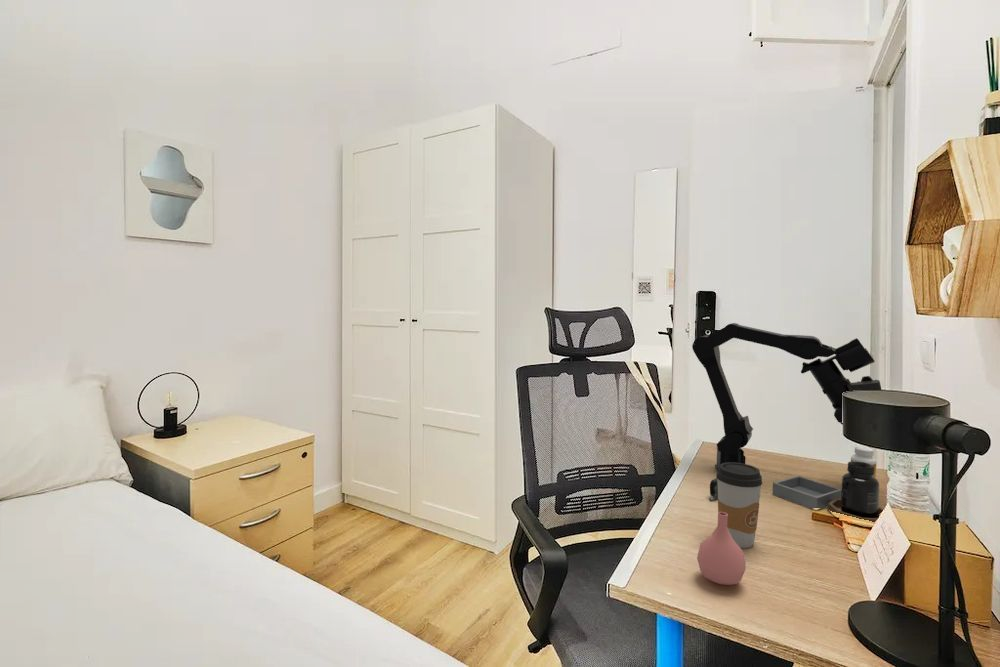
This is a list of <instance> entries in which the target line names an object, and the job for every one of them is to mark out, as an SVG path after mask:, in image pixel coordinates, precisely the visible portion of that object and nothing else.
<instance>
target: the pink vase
mask: <svg viewBox="0 0 1000 667" xmlns="http://www.w3.org/2000/svg"><path fill="white" fill-rule="evenodd" d="M727 519H728V514H727V513H725V512H718V511H717V525H716V527H715V529H714V530H713V531H712V534H711V535H709V536H708V537H707V538H706V539H704V540H703V541H701V542H700V544H699V548H698V551H697V557H696V560H697V563H698V567H699V570H700V572H701V574H702V576H703V577H705V578H706V579H707V580H709V581H712V582H714V583H715V584H718V585H722V586H723V585H724V586H725V585H736V584H739V583H740V582H741V581H742V579H743V576H744V574H745V572H746V570H747V569H746V567H747V566H746V559H745V553H744V551H743V548H740V547H739V546H738V545H737V544H736V542H735V541H734V540H733V538H732V536H731V534H730V532H729V530H728V528H727Z"/></svg>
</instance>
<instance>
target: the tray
mask: <svg viewBox="0 0 1000 667" xmlns="http://www.w3.org/2000/svg"><path fill="white" fill-rule="evenodd" d="M841 490H842V488H838V487H835V486H831V485H829V484H825V483H822V482H819V481H818V480H817V481H816V480H814V479H810V478H807V477H804V476H800V475H795V476H793V477H789V478H785V479H782V480H778V481H774V482H772V493H771V494H772V495H773V496H776V497H778V498H781V499H784V500H786V501H789V502H792V503H794V504H797V505H800V506H802V507H805V508H808V509H811V510H813V508H823V509H825V508H828V503H829V502H831V501H832V500H834V499H841Z"/></svg>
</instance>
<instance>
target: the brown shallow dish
mask: <svg viewBox="0 0 1000 667" xmlns="http://www.w3.org/2000/svg"><path fill="white" fill-rule="evenodd" d="M839 508H841V499H834V500H832V501H831V502H829V503H828V507H827V511H828V510H830V511H832V512H836V513H840V514H844V515H847V516H852V517H856V518H859V519H864V520H869V521H872V522H875V521H876V520H877V519H878V518H879V514H880V513H881V512H882V511H883V509H884V508H882V507H881V506H880V505H879V509H878V518H862V517H859V516H855V515H852V514H849V513H845V512H842V511H841V509H839Z"/></svg>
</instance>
